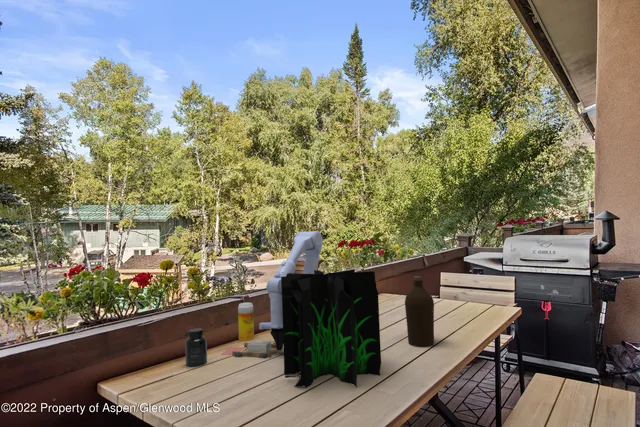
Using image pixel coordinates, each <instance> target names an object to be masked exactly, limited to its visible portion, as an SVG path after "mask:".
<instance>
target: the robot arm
mask: <svg viewBox="0 0 640 427" xmlns="http://www.w3.org/2000/svg"><path fill="white" fill-rule="evenodd" d="M293 242H294V243H293V246H292V248H291V250H290V252H289V255H288V257H287V260H283V261H281V263H280V265H279V267H278V269H277V270H276V272H275V274H274V276H273V277H271V278H269V279H268V281H267V284H266V286H265V288H266V292H267V293H268V297H269V298H270V299H269V301H270V322H269V321H268V322H260V323H259V324H258V329H259V330H271V331H270V335H271V336H272V338H273V340H274V343H275V344H276V347H277V352H278V351H279V352H281V351H283V350H284V346H283V314H282V289H281V277H284V276H286V275H287V274H288V273H295V272H296V270H297V266H296V264H297V262H298V261H299V259H300V257H302V254H304V255H305V260H304V261H305V262H304V266H303V272H302V274H314V270H316V271H317V270H318V266H319V261H320V260H319V259H320V255H321V253H322V246H323V242H324V239H323V236H322V234H321V231H319V230H315V231H298V232H296V234H295V236H294V238H293Z"/></svg>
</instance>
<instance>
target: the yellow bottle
mask: <svg viewBox="0 0 640 427" xmlns="http://www.w3.org/2000/svg"><path fill="white" fill-rule="evenodd" d="M237 312H238V313H237V318H238V319H237V320H238V321H237V322H238V340H239V341H244V342H247V341H253V340H254V339H255V327H254V326H255V324H254V323H255V319H254V305H253V302H242V303H239V304H238V307H237Z"/></svg>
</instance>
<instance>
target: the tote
mask: <svg viewBox="0 0 640 427" xmlns="http://www.w3.org/2000/svg"><path fill="white" fill-rule="evenodd" d="M248 343H249V344H248V345H247V347H248V352H267V353H269V352H270V351H271V344H272V341H271V340H251V341H250V342H248ZM247 347H246V348H247Z"/></svg>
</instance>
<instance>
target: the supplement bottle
mask: <svg viewBox="0 0 640 427" xmlns="http://www.w3.org/2000/svg"><path fill="white" fill-rule="evenodd" d="M187 332H188V333H187V337H188V338H187V339H186V340H185V345H184V346H185V366H186V367H187V368H197V367H202V366H205V365H207V363H208V347H207V346H208V345H207V340H208V339H207V338H206V337H205V336H204V329H203V328H201V327H199V328H192V329H189V330H188V331H187Z"/></svg>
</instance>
